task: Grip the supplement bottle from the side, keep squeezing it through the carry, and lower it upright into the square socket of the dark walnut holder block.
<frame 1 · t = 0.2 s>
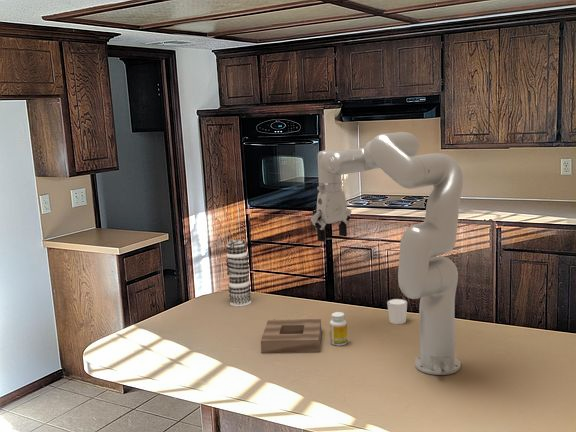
hand: (332, 238, 198), 31 cm above the countertop, fingers open, 9 cm apart
decorative candle: (240, 303, 234), on the countertop
supplement bottle: (339, 343, 189), on the countertop
white tapered cup: (397, 321, 204), on the countertop
holder block: (292, 341, 192), on the countertop
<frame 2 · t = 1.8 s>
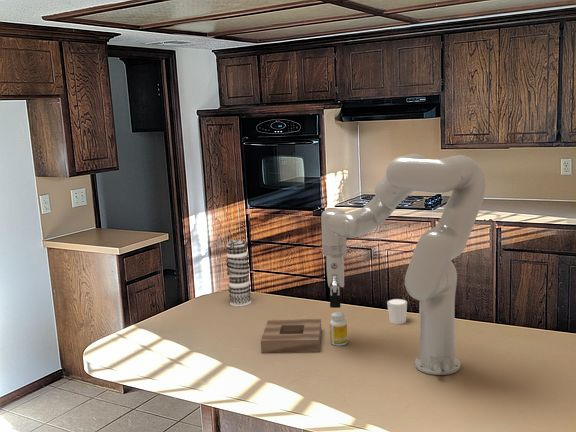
hand: (335, 301, 186), 13 cm above the countertop, fingers open, 9 cm apart
nothing on the countertop moved.
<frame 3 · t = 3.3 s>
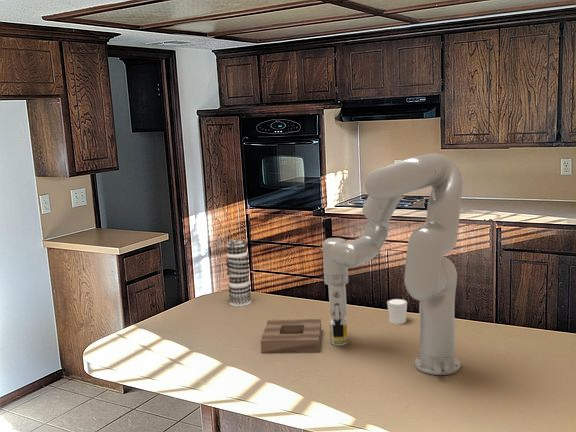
hand: (338, 332, 188), 4 cm above the countertop, fingers closed on supplement bottle, 5 cm apart
supplement bottle: (339, 343, 189), on the countertop, touching gripper
everything else where it was.
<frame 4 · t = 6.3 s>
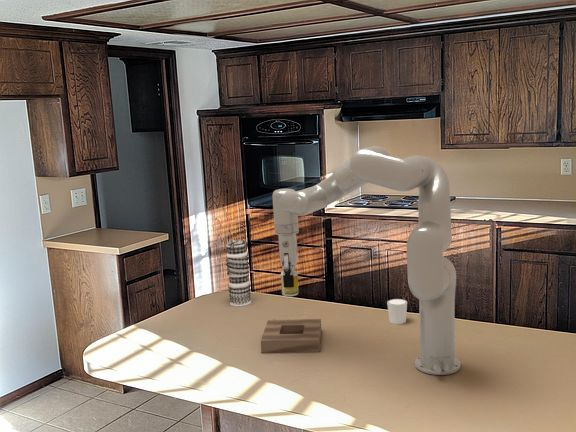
hand: (289, 283, 188), 19 cm above the countertop, fingers closed on supplement bottle, 5 cm apart
supplement bottle: (290, 294, 189), point 16 cm above the countertop, touching gripper
everything else where it was.
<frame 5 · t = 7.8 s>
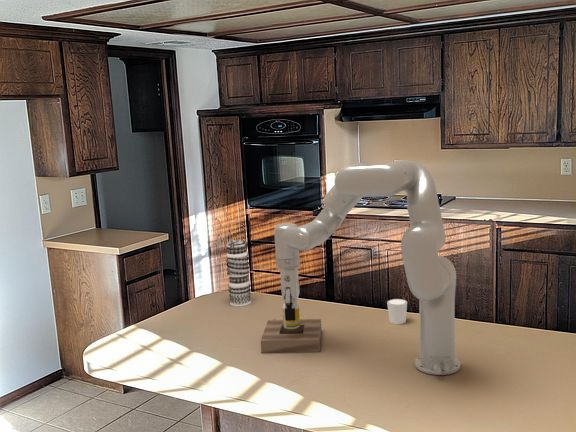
hand: (291, 316, 190), 8 cm above the countertop, fingers closed on supplement bottle, 5 cm apart
supplement bottle: (291, 327, 191), point 5 cm above the countertop, touching gripper
everything else where it was.
when the fingers open (5 cm above the countertop, at t = 9.2 s): supplement bottle drops 2 cm, resting in holder block.
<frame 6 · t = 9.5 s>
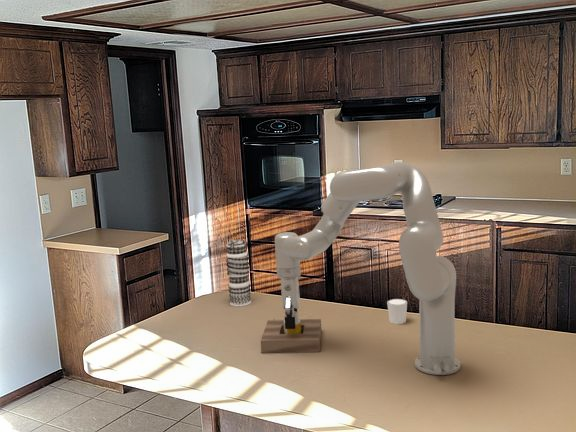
hand: (291, 323, 191), 6 cm above the countertop, fingers open, 8 cm apart
supplement bottle: (293, 341, 192), resting in holder block
everything else where it was.
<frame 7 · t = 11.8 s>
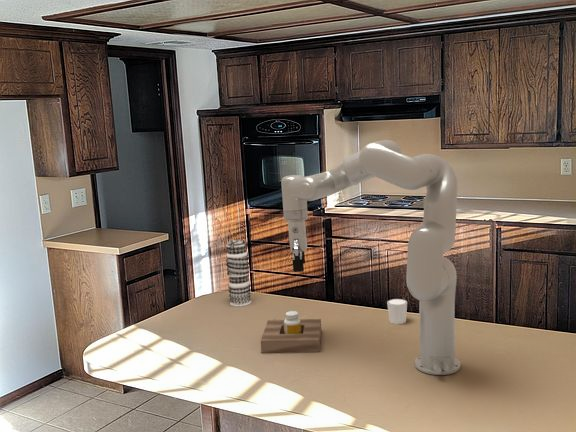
hand: (299, 267, 189), 24 cm above the countertop, fingers open, 9 cm apart
nothing on the countertop moved.
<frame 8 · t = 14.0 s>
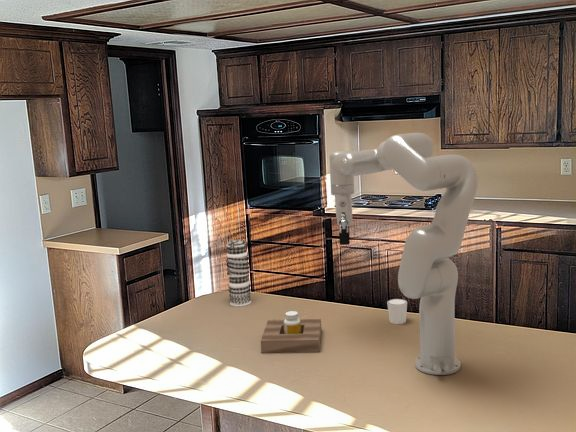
hand: (344, 241, 194), 30 cm above the countertop, fingers open, 9 cm apart
nothing on the countertop moved.
at the end: supplement bottle 0.3 cm off-centre on the holder block, point 0.0 cm above the holder block's base; supplement bottle tilted 0°; the gripper is holding nothing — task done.
